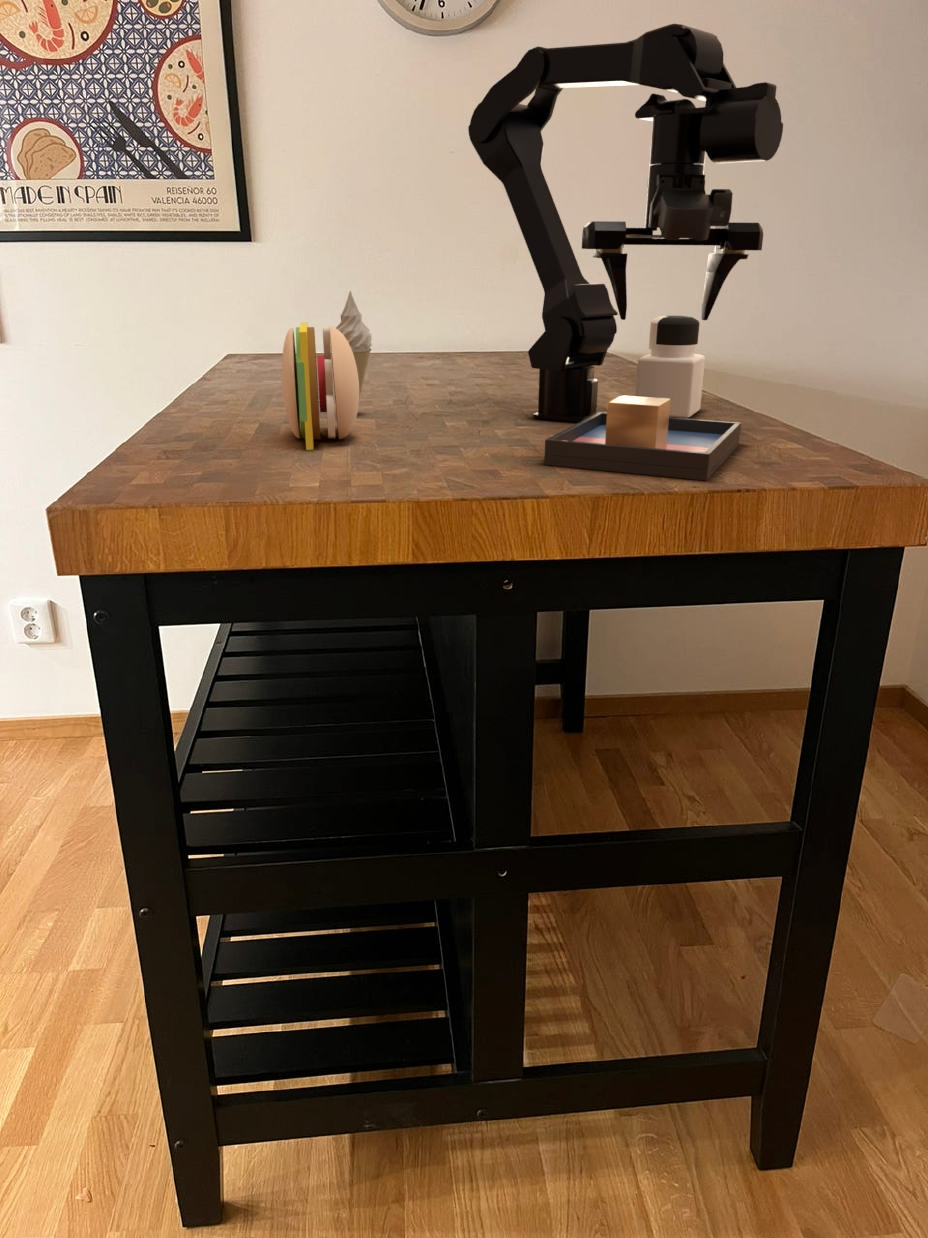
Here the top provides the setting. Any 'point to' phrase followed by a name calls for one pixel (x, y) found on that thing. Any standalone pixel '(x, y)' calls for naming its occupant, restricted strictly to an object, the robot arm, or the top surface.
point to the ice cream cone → (356, 337)
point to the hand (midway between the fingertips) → (663, 319)
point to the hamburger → (304, 385)
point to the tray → (646, 449)
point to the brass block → (638, 421)
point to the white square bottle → (673, 365)
